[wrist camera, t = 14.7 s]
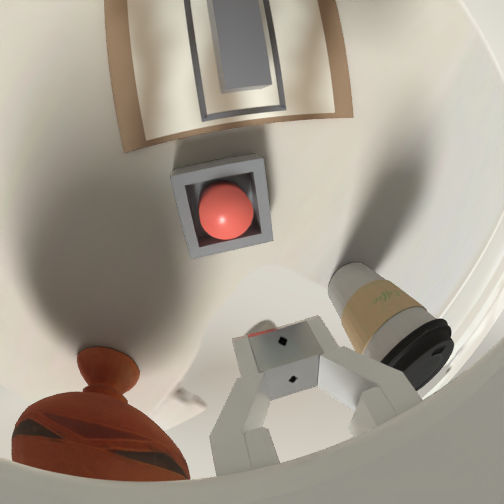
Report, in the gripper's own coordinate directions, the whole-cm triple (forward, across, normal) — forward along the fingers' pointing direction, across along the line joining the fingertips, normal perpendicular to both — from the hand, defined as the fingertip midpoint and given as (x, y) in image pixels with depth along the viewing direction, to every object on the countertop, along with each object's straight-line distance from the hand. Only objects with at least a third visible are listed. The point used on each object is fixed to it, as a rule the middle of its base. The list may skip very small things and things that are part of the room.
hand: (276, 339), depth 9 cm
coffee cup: (+17, -13, +13) cm, 25 cm away
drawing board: (+17, -3, -15) cm, 23 cm away
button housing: (+17, 0, 0) cm, 17 cm away
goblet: (+17, +19, +18) cm, 31 cm away
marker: (+16, -3, -15) cm, 22 cm away
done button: (+15, 0, 0) cm, 15 cm away
